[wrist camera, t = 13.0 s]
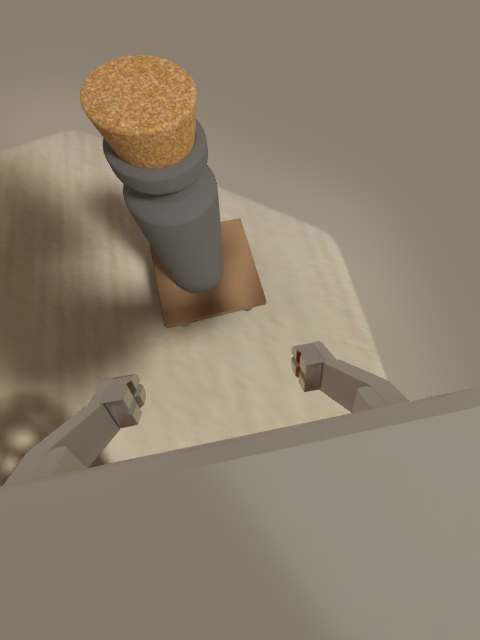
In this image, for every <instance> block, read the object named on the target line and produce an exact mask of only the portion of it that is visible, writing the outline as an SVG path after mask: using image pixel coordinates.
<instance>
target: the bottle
mask: <svg viewBox="0 0 480 640" xmlns="http://www.w3.org/2000/svg"><path fill="white" fill-rule="evenodd" d="M196 98H197V97H196V87H195V84H194V82H193V80H192V78H191V76H190V75H189V74H188V72H186V71H185V70H184V69H183V68H182V67H181V66H179V65H177V64H176V63H174V62H172V61H169V60H167V59H164V58H161V57H155V56H149V55H133V56H125V57H120V58H117V59H114V60H111V61H109V62H106V63H104V64H102V65H100V66H99V67H98V68H97V69H95V70H94V71H93V72H91V73H90V75H89V76H88V77H87V78H86V80H85V81H84V83H83V85H82V88H81V94H80V100H81V105H82V108H83V110H84V112H85V113H86V115H87V116H88V117H89V119H90V120H91V122H92V123H93V124H94V126H95V127H96V128H97V130H98V131H99V132H100V133H101V135H102V136H103V137H104V138H103V151H104V154H105V157H106V159H107V161H108V163H109V164H110V166H111V168H112V170H113V172H114V173H115V174H116V176H117V177H118V178H119V179H120V181H121V182H122V183H124V185H123V195H124V200H125V202H126V205H127V207H128V208H129V210H130V212H131V214H132V215H133V217H134V219H135V220H136V222H137V224H138V225H139V227H140V228H141V230H142V232H143V233H144V235H145V236H146V238H147V240H148V241H149V243H150V244H151V246H152V248H153V249H154V251H155V252H156V254H157V256H158V257H159V259H160V260H161V262H162V264H163V265H164V267H165V268H166V270H167V271H168V273H169V274H170V276H171V278H172V279H173V280H174V282H175V283H176V284H177V285H178V286H179V287H180V288H181V289H183V290H185V291H187V292H191V293H203V292H206V291H209V290H211V289H212V288H214V287H215V286H216V285H217V284H218V283H219V281H220V280H221V278H222V275H223V268H224V267H223V251H222V237H221V224H220V212H219V201H218V191H217V183H216V179H215V176H214V174H213V172H212V171H211V169H210V168H209V167H208V165H207V160H208V148H207V141H206V136H205V133H204V129H203V128H202V126H201V124H200V123H199V122H198V120H197V119H196Z"/></svg>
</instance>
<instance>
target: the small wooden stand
mask: <svg viewBox="0 0 480 640" xmlns="http://www.w3.org/2000/svg"><path fill="white" fill-rule="evenodd" d="M220 224H221V237H222V251H223V267H224V268H223V275H222V278H221V280H220V281H219V283H218V284H217V285H216V286H215V287H214V288H212V289H211V290H209V291H206V292H203V293H191V292H187V291H185V290H183V289H181V288H180V287H179V286H178V285H177V284H176V283H175V282H174V280H173V279H172V278H171V276H170V274H169V273H168V271H167V270H166V268H165V267H164V265H163V264H162V262H161V260H160V259H159V257H158V256H157V254H156V252H155V251H154V249H153V248H152V246H151V244H150V248H151V253H152V259H153V264H154V270H155V276H156V281H157V287H158V292H159V298H160V303H161V309H162V315H163V320H164V326H165V327H167V328H170V327H174V326H178V325H182V326H187V325H189V324H190V323H191V322H194V321H198V320H203V319H207V318H211V317H215V316H219V315H223V314H227V313H231V312H236V311H240V310H245V311H249V310H251V309H252V308H253V307H256V306H260V305H264V304H265V303H266V298H265V295H264V292H263V289H262V286H261V283H260V279H259V276H258V273H257V270H256V267H255V264H254V260H253V257H252V254H251V251H250V248H249V244H248V241H247V238H246V235H245V232H244V229H243V225H242V222H241V219H240V218H239V219H234V220H229V221H224V222H220Z"/></svg>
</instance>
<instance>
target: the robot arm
mask: <svg viewBox="0 0 480 640" xmlns="http://www.w3.org/2000/svg"><path fill="white" fill-rule="evenodd" d="M292 354H293V357H292V359H291V364H292V369H293V372H294V374H295V376H297V377H298V378H299V383H300V385H301V387H302V389H303V391H304V392H307V391H313V390H319V389H320V390H321V391H322V392H323V393H325V394H326V395H328V396H329V397H330V398H332V399H333V400H335V401H336V402H337V403H339V404H340V405H342V406H343V407H344V408H346V409H347V410H349V411H350V412H351V414H346V415H341V416H336V417H332V418H327V419H322V420H317V421H312V422H307V423H303V424H298V425H293V426H288V427H283V428H278V429H274V430H269V431H264V432H259V433H254V434H250V435H245V436H240V437H235V438H230V439H226V440H221V441H216V442H211V443H206V444H201V445H197V446H192V447H187V448H182V449H177V450H172V451H168V452H163V453H158V454H153V455H148V456H143V457H139V458H134V459H129V460H124V461H119V462H115V463H110V464H105V465H100V466H95V467H90V468H88V467H89V466H90V465H91V464H92V463H93V461H94V460H95V459H96V458H97V457H98V455H99V454H100V453H101V452H102V451H103V449H104V448H105V447H106V446H107V444H108V443H109V442H110V441H111V440H112V438H113V437H114V436H115V435H116V434H117V432H118V431H119V430H120V428H124V427H129V426H133V425H138V423H139V419H140V416H141V413H142V412H141V410H140V408H141V407H142V406H143V405H144V403H145V398H146V393H145V389H144V387H143V386H142V385H141V384H139V381H140V379H139V377H138V375H136V374H134V375H127V376H121V377H115V378H109V379H105V380H103V381H102V382H101V384H100V386H99V387H98V389H97V391H96V392H95V394H94V396H93V398H92V399H91V401H90V403H89V404H88V406H87V407H84V408H82V409H81V410H80V411H78V412H77V413H76V414H75V415H73V416H72V417H71V418H70V419H68V420H67V421H66V422H65V423H63V424H62V425H61V426H60V427H58V428H57V429H56V430H54V431H53V432H52V433H51V434H49V435H48V436H47V437H46V438H44V439H43V440H42V441H41V442H39V443H38V444H37V445H36V446H34V447H33V448H32V449H30V450H29V451H28V452H27V453H26V454H25V455H24V457H23V458H22V460H21V461H20V462H19V464H18V465H17V467H16V468H15V469H14V471H13V472H12V474H11V475H10V476H9V478H8V479H7V481H6V482H5V483H4V485H3V486H0V640H480V387H476V388H471V389H466V390H462V391H457V392H452V393H447V394H443V395H438V396H433V397H428V398H423V399H419V400H414V401H409V400H408V399H407V398H406V397H405V396H404V395H402V393H400V391H399V390H397V389H396V388H395V387H394V386H393V385H392V384H391V383H390V382H389V381H387V380H385V379H383V378H380V377H378V376H376V375H374V374H371V373H369V372H367V371H364V370H362V369H360V368H358V367H355V366H353V365H351V364H348V363H346V362H344V361H341V360H336V359H335V357H334V356H333V355H332V354H331V353H330V351H329V350H328V349H327V348H326V347H325V346H324V344H323V343H322V342H321V341H317V342H312V343H308V344H302V345H297V346H292Z"/></svg>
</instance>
